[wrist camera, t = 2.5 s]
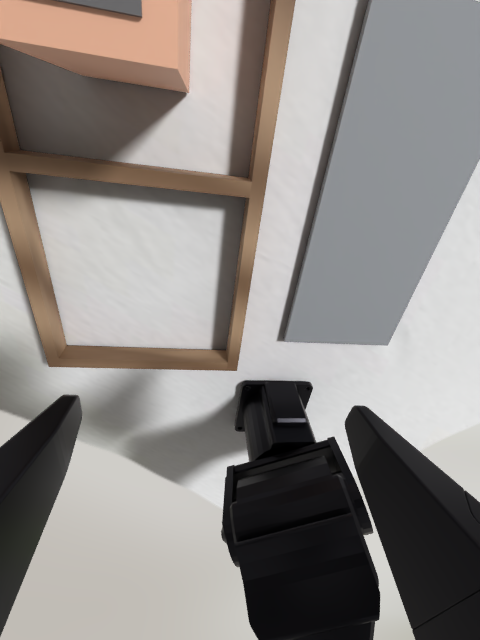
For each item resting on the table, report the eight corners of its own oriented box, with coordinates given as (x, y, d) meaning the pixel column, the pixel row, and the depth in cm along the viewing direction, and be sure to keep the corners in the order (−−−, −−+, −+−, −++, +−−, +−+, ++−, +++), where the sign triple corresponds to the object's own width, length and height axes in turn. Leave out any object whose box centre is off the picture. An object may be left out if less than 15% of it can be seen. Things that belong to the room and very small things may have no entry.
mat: (385, 342, 25) (387, 345, 25) (283, 338, 24) (284, 341, 24) (540, 20, 15) (548, 18, 14) (373, -20, 13) (378, -24, 13)
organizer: (235, 358, 25) (236, 370, 23) (57, 353, 23) (48, 366, 21) (320, -216, 11) (336, -261, 9) (-135, -371, 8) (-193, -456, 7)
